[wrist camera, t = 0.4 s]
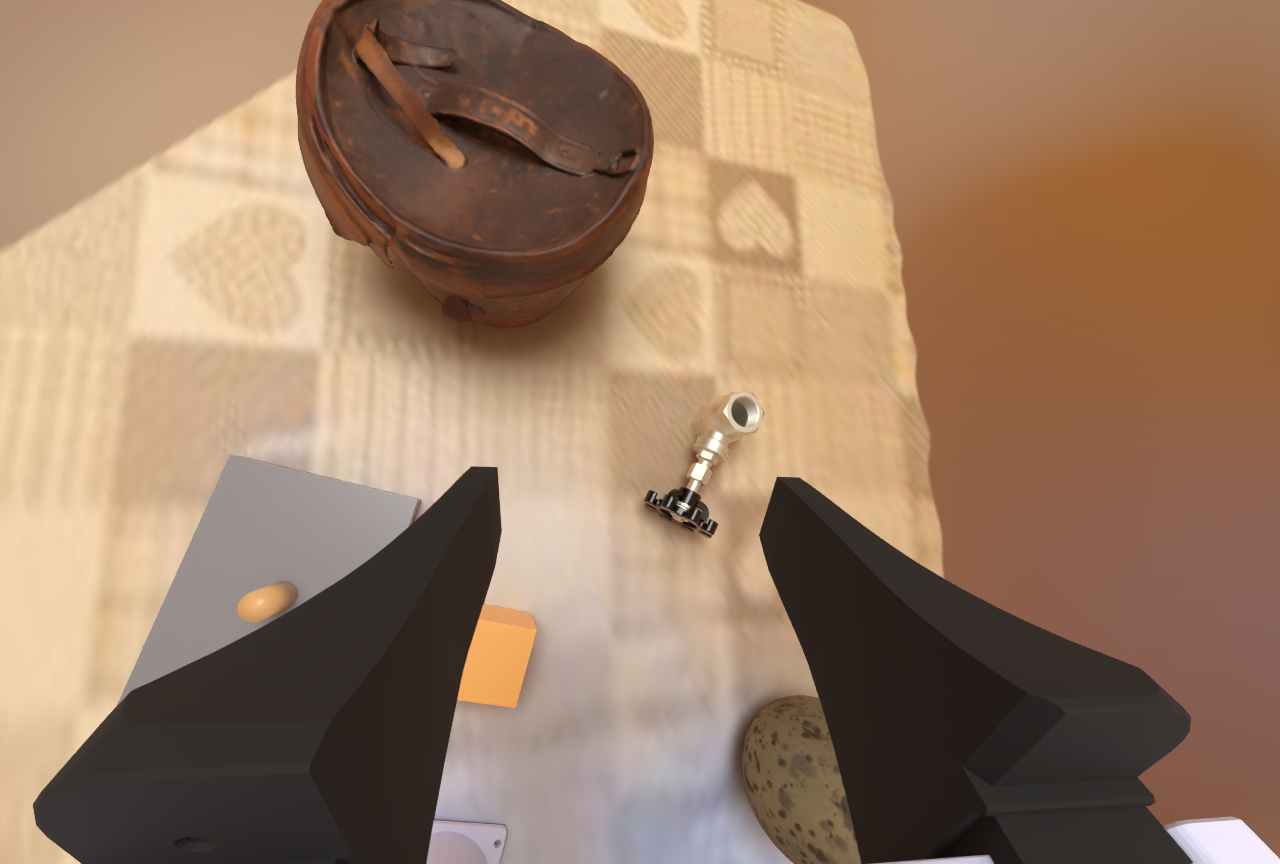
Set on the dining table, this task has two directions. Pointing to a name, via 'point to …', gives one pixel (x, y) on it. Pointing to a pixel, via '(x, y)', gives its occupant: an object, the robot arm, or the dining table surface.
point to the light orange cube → (498, 657)
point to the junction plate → (264, 557)
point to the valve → (708, 457)
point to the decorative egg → (798, 783)
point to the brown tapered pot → (471, 148)
